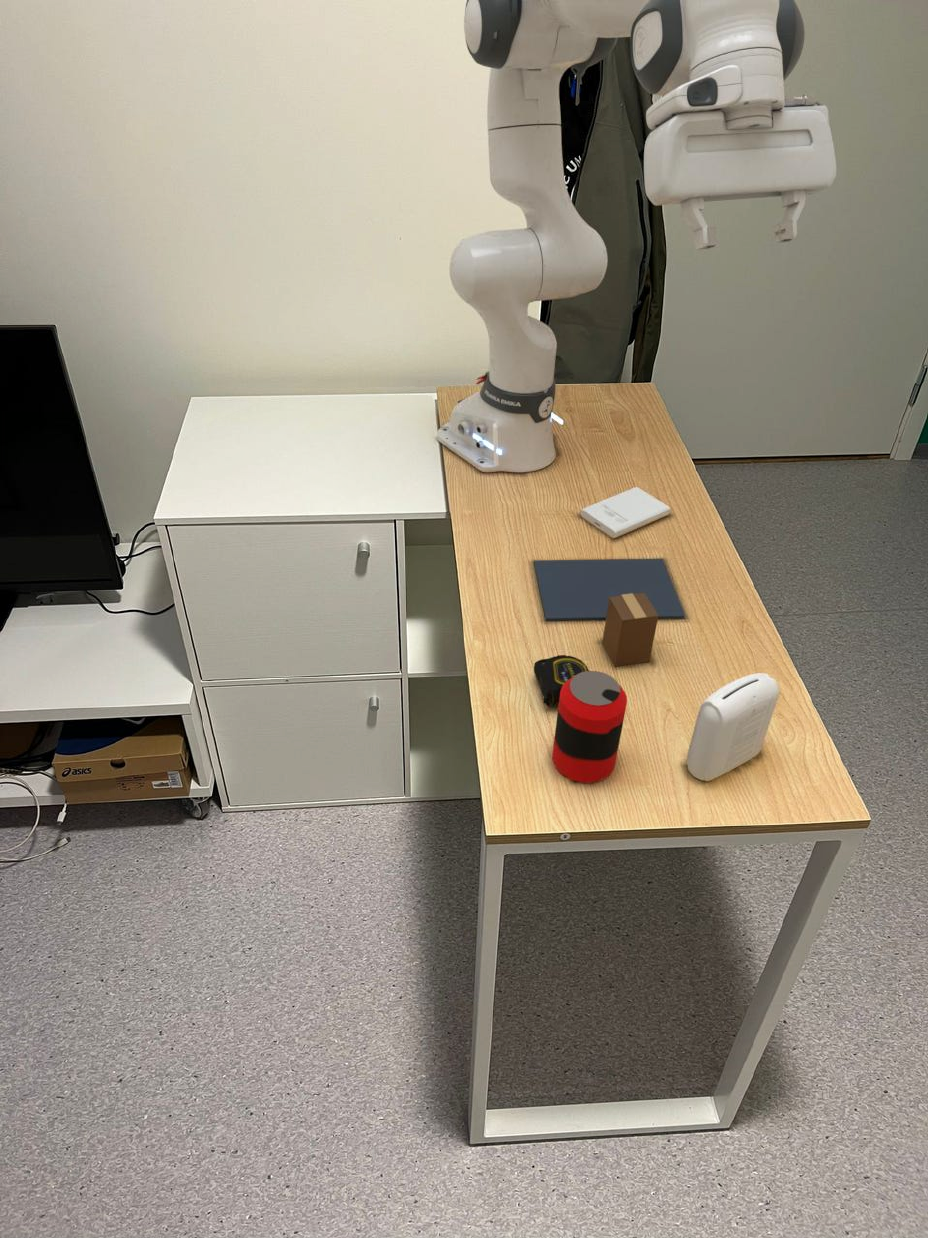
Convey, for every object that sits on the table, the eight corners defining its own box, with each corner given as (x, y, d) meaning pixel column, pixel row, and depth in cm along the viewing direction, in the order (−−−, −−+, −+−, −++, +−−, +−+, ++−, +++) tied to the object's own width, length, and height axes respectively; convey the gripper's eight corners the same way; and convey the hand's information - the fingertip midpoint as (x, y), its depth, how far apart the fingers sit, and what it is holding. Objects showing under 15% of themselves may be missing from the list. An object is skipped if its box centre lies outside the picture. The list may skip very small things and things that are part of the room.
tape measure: (531, 676, 127) (533, 654, 125) (582, 672, 128) (584, 650, 125) (541, 712, 122) (544, 690, 119) (594, 708, 123) (597, 686, 120)
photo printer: (739, 732, 120) (761, 658, 112) (765, 754, 117) (789, 679, 109) (678, 765, 115) (697, 689, 108) (704, 788, 113) (725, 712, 105)
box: (601, 642, 133) (609, 596, 128) (635, 637, 134) (644, 591, 129) (614, 666, 129) (622, 620, 124) (649, 661, 130) (658, 615, 125)
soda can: (597, 794, 111) (610, 721, 104) (540, 767, 114) (549, 693, 107) (625, 754, 117) (639, 681, 109) (569, 729, 120) (580, 656, 112)
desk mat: (545, 621, 136) (546, 618, 136) (533, 563, 147) (533, 560, 146) (684, 618, 137) (685, 615, 137) (662, 561, 148) (662, 558, 148)
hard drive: (669, 516, 158) (614, 539, 152) (634, 493, 163) (579, 516, 157) (670, 507, 157) (615, 531, 151) (635, 485, 162) (580, 507, 156)
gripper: (806, 104, 101) (813, 243, 104) (630, 112, 95) (643, 258, 98) (846, 82, 95) (853, 230, 98) (661, 89, 89) (674, 245, 92)
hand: (746, 244), depth 98 cm, fingers open, 8 cm apart
